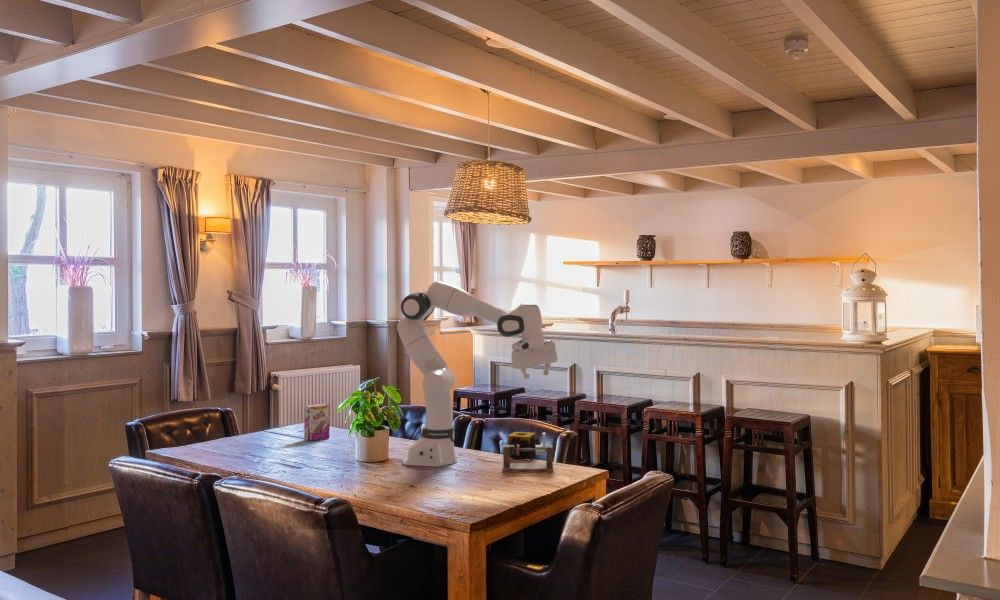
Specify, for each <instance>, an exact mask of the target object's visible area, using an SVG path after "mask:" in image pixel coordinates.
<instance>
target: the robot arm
mask: <svg viewBox="0 0 1000 600" xmlns="http://www.w3.org/2000/svg"><path fill="white" fill-rule="evenodd" d="M436 308H437V309H441V310H443V311H444V312H447V313H450V314H452V315H454V316H455V315H456V316H459V317H478V318H482V319H485V320H487V321H489V322H492V323H494V324H496V328H497V332H498V333H499V334H500V335H501V336H503V337H507V338H511V337H512V338H513V337H515V336H518V335H521V339H520V340H518V341H516V342H514V343H513V344H511V349H512V352H511V367H512V368H513V369H514V370H519V369H520V371H521V373H522V375H523V379H525V380H527V379H530V374H529V373H527V372H526V371H527V368H531V367H532V368H533V367H536V366H537V367H538V366H542V365H543V366H544V370H542V373H543V376H548V375H549V373H550V372H549V370H550V368H551V364H553V363H557V361H558V354H557V353H558V352H557V349H556V342H555V341H553V340H551V339H549V340H545V339H544V332H543V329H542V327H543V319H542V314H541V313H542V312H541V310H540V307H539V306H538V304H536V303H530V302H526V303H520V304H519V305H518V306H517V307H516V308H515V309H512V310H504V309H501V308H499V307H497V306H494V305H493V304H489V303H488V302H485V301H483V300H481V299H480V298H478V297H476V296H474V295H473V294H472V293H470V292H468V291H466V290H464V289H463V288H461V287H458V286H456V285H453V284H451V283H447V282H443V281H440V280H439V281H438V280H437V281H433V282H432V283H431V284H430V285H429V286H428V288H427V290H426V291H420V292H419V291H417V292H413V293H409V294H408V295H406V296H405V297H403V299H402V300H401V303H400V310H401V313H402V314H403V316H404V317H403V318H401V319H400V320H399V321H398V322H397V324H396V329H397V333H398V336H399V338H400V340H401V343H402V344H403V347H404V348H405V350H406V352H407V354H408V356H409V357H410V359H411V361H412V363H413V364H414V365H415V366H416V368H418V370H419V371H420V372H421V373H422V374H423V379H422V383H421V385H422V389H423V398H424V399H423V400H424V404H425V412H426V414H425V419H426V420H425V422H426V423H425V424H426V425H425V426H426V427H425V426H424V427H422V428H421V437H420V438H419V439H417V440H416V441H415V442H414V443H412V445H410V446H409V448H408V452H407V456H405V457H404V458H403V459H402V462H401V463H402V464H403V465H404V466H417V467H418V466H419V467H420V466H421V467H434V468H435V467H437V468H438V467H443V466H447V465H452V464H455V463H457V462H458V459H457V455H456V452H455V444H454V441H455V427H454V421H453V420H454V419H453V418H454V413H453V412H454V411H453V409H454V408H453V406H452V399H451V390H452V389H453V388H454V386H455V383H456V376H455V375H456V374H455V373H454V371H453V370H452V369H451V368H450V366H449V365H448V363H447V362H446V360H445V359H444V357H442V355H441V354H440V352H439V351H438V349H437V347H436V346H435V344H434V342H433V341H432V339H431V338H430V335H429V334H428V331H427V330H426V329H425V326H424V322H425V321H427V319H428V318H429V317H430V316H431V315H432V314H433V312H434V311H435V309H436Z"/></svg>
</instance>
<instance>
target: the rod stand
mask: <svg viewBox="0 0 1000 600" xmlns="http://www.w3.org/2000/svg"><path fill="white" fill-rule="evenodd" d="M502 448H503V451H502V452H503V453H502V455H503V458H502V459H503V462H502V463H503V465H502V472H547V473H546V474H551V473H550V472H554V471H555V470H554V461H553V459H554V458H553V456H554V455H553V453H554V451H553V449H554V447H553V444H546V448H519V445H517V448H514V445H508V444H503V446H502ZM536 449H546V455H545V456H546V460H545V461H546V462H545V463H544V462H543V463H542V462H540V463H539V462H538V463H537V462H530V463H529V462H521V463H520V462H511V459H510V454H514V451H517V455H519V451H536Z"/></svg>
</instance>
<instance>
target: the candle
mask: <svg viewBox="0 0 1000 600" xmlns="http://www.w3.org/2000/svg"><path fill="white" fill-rule="evenodd" d="M536 439H537V437H536V432H525V431H514V432H512V433H510V434H509V435H507V440H508V441H507V445H514V448H517V445H519V448H536V445H537V441H536ZM536 456H537V455H536V451H519V455H517V451H514V454H510V458H513V459H512V460H519V459H529V460H528V461H530V460H532V459H533V458H534V457H536Z"/></svg>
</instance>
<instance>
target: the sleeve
mask: <svg viewBox="0 0 1000 600" xmlns="http://www.w3.org/2000/svg"><path fill="white" fill-rule="evenodd" d="M546 434H547V433H546V432H542V444H536V448H546V445H547V443H546V441H547V439H546ZM538 455H539V456H541V455H542V456H543V455H544V456H546V449H536V456H538Z"/></svg>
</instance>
